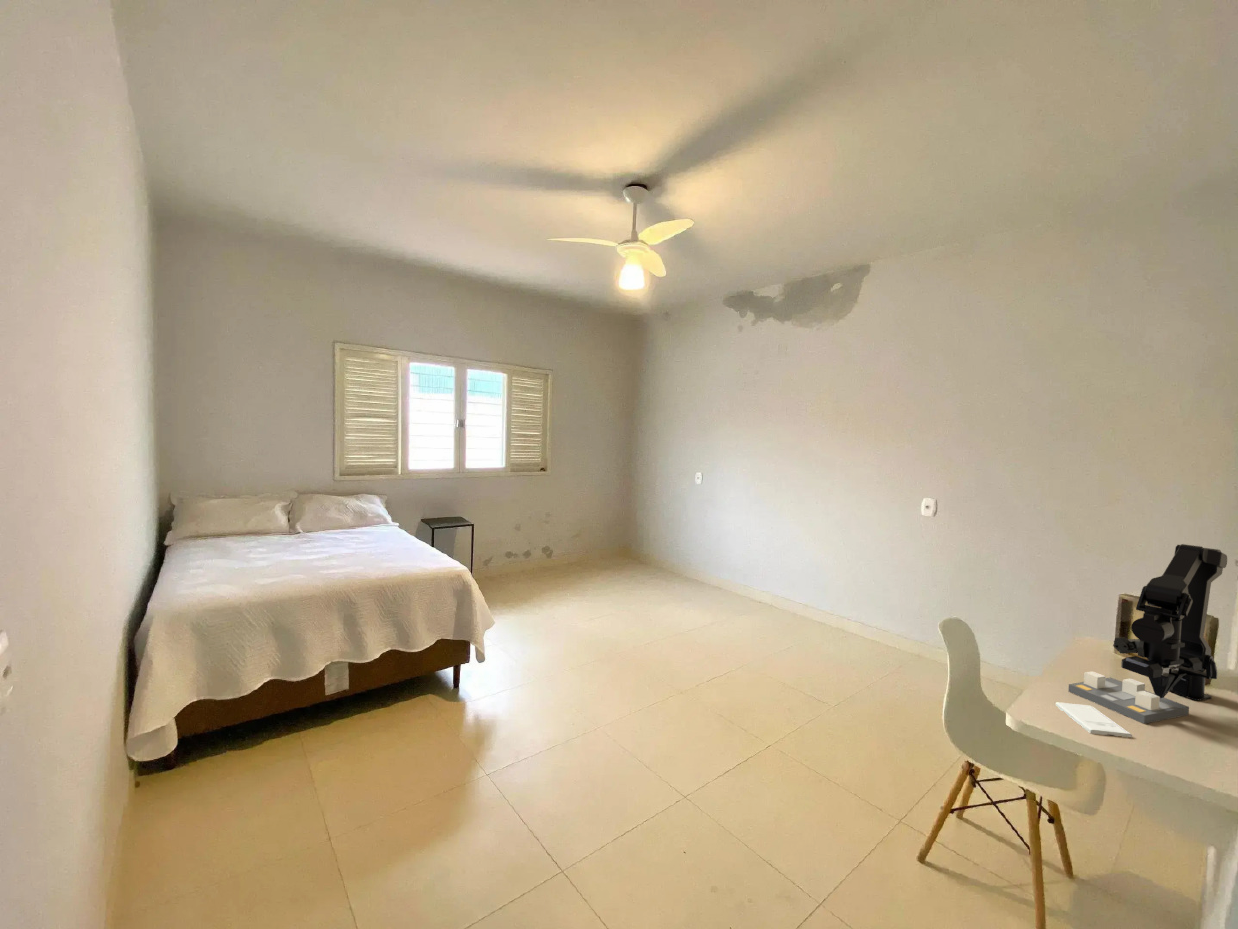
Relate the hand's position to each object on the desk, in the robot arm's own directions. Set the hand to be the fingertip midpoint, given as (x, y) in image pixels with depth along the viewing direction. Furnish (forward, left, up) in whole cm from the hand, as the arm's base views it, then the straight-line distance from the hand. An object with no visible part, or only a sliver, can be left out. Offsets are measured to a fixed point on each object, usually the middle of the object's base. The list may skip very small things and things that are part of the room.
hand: (1159, 697), depth 125 cm
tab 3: (+5, 0, -2) cm, 5 cm away
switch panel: (+2, -5, -4) cm, 7 cm away
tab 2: (0, -5, -2) cm, 6 cm away
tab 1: (+5, -11, -2) cm, 12 cm away
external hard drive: (+21, -1, -5) cm, 22 cm away
